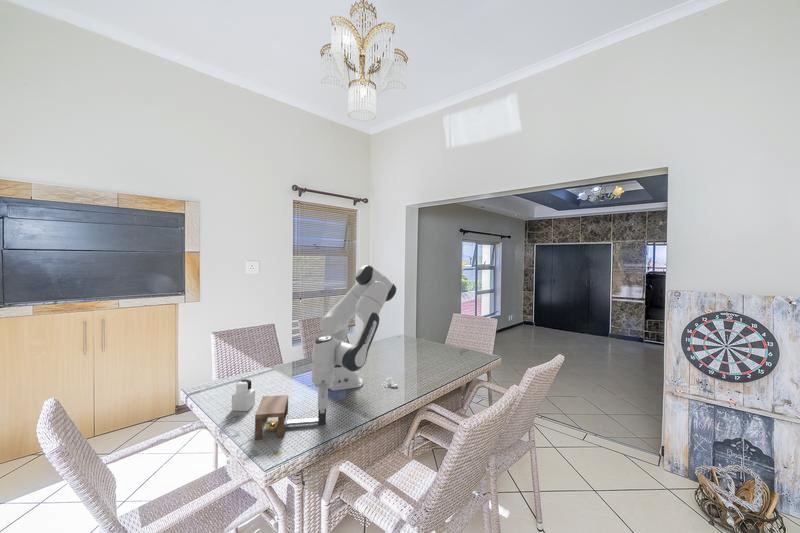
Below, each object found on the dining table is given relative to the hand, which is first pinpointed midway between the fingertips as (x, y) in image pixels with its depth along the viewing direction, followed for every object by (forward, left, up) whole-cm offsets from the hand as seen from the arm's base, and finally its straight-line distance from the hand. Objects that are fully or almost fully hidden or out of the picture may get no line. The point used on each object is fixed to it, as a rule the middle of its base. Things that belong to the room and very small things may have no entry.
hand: (322, 410), depth 136 cm
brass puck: (+19, 0, -6) cm, 20 cm away
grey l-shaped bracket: (+7, 0, -5) cm, 9 cm away
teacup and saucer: (-34, -34, -6) cm, 48 cm away
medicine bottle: (+34, -20, -6) cm, 40 cm away
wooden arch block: (+19, 0, -6) cm, 20 cm away
